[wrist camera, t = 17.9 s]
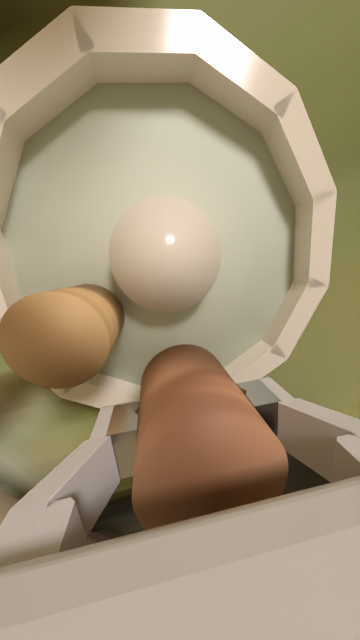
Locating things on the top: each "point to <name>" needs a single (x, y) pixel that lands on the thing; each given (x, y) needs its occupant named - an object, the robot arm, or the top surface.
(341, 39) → the top surface
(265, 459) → the brown egg
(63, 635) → the robot arm
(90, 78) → the tray
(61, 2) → the top surface
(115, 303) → the tan egg
